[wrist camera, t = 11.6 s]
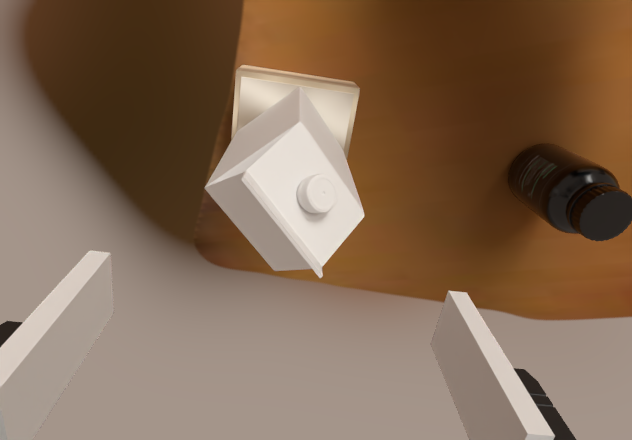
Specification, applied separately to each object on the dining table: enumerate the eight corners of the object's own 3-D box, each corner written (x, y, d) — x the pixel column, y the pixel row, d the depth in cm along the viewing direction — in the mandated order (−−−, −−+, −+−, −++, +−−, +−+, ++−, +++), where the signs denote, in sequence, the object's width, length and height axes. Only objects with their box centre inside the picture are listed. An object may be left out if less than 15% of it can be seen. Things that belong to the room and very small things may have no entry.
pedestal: (243, 64, 42) (235, 70, 37) (353, 81, 43) (360, 89, 38) (234, 171, 46) (227, 188, 42) (335, 184, 48) (339, 202, 43)
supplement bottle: (581, 164, 48) (665, 206, 37) (535, 211, 50) (602, 264, 39) (538, 129, 46) (613, 163, 35) (493, 180, 48) (550, 226, 37)
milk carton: (282, 190, 42) (270, 308, 25) (236, 130, 39) (187, 215, 22) (343, 150, 41) (376, 245, 23) (300, 85, 38) (301, 137, 21)
